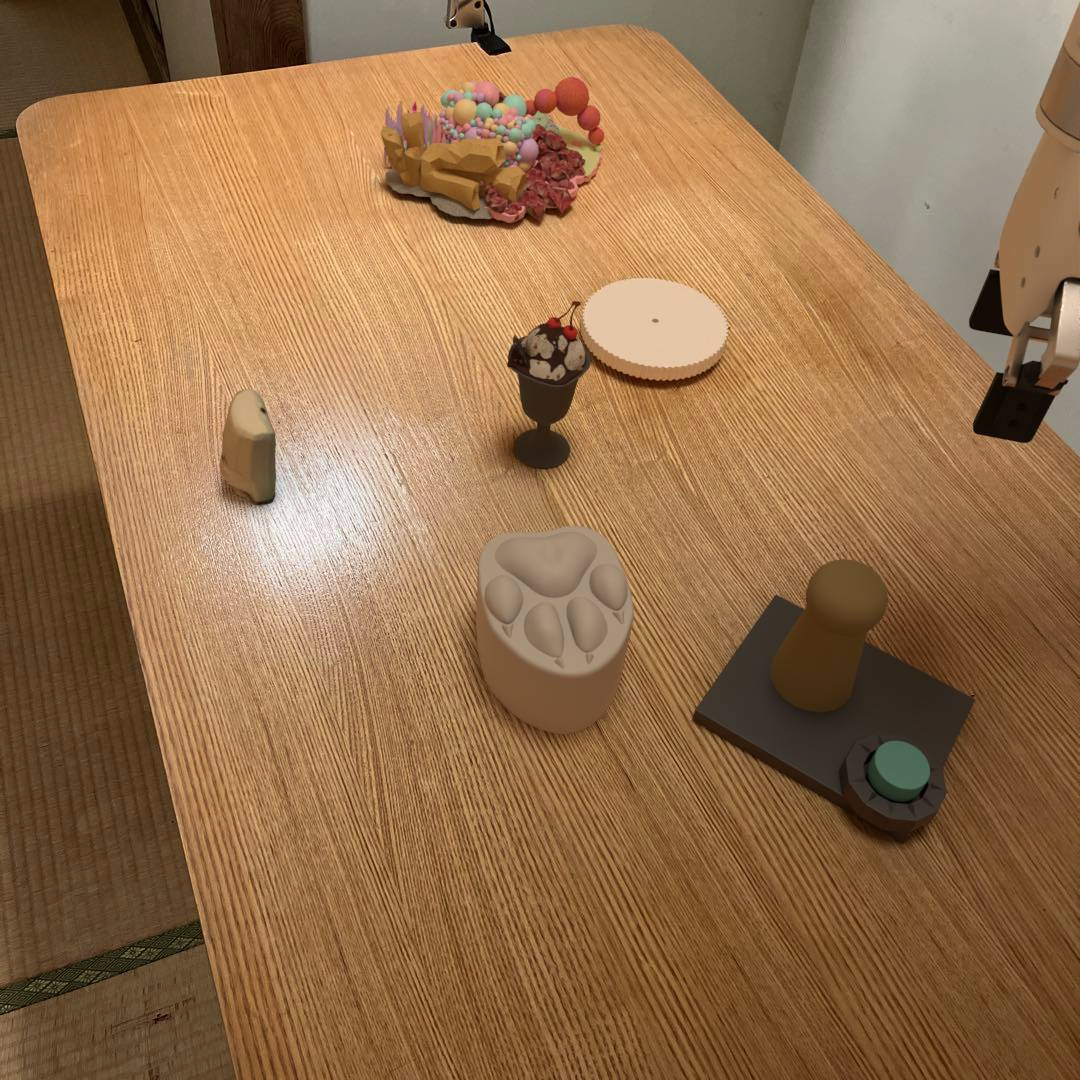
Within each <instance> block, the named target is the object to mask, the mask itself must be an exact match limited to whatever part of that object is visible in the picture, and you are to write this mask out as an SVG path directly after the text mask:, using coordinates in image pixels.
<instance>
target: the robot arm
mask: <svg viewBox="0 0 1080 1080" xmlns="http://www.w3.org/2000/svg"><path fill="white" fill-rule="evenodd" d="M1035 118H1036V121H1037V123H1038V124H1039V126H1040V128H1042V129H1043V130H1044V131H1043V133H1042V135H1041V137H1040V140H1039V141H1038V143H1037V145H1036V148H1035V149H1034V152H1033V154H1032V156H1031V159H1030V161H1029V163H1028V165H1027V167H1026V170H1025V172H1024V174H1023V176H1022V178H1021V180H1020V184H1019V186H1018V187H1017V190H1016V193H1015V195H1014V196H1013V197H1014V198H1013V199H1012V202H1011V205H1010V208H1009V210H1008V212H1007V215H1006V219H1005V221H1004V223H1003V227H1002V231H1001V234H1000V238H999V244H998V250H997V252H996V255H995V258H994V265H993V267H994V268H995V269H994V268H993V269H992V268H990V269H989V271H988V273H987V276H986V278H985V280H984V283H983V285H982V288H981V290H980V292H979V295H978V297H977V298H976V299H977V300H976V301H975V305H974V306H973V308H972V311H971V313H970V316H969V319H968V326H969V327H968V328H970V329H971V330H974V331H977V332H984V333H989V334H993V335H1000V336H1006V337H1012V340H1011V343H1010V346H1009V351H1008V355H1007V358H1006V362H1005V367H1004V370H1003V372H999V371H996V373H995V375H994V377H993V378H992V381H991V383H990V385H989V388H988V389H987V392H986V394H985V396H984V398H983V400H982V402H981V403H980V407H979V409H978V411H977V413H976V415H975V417H974V419H973V420H972V421H973V422H972V432H973V433H974V434H976V435H979V436H982V437H983V436H984V437H989V438H994V439H999V440H1004V441H1010V442H1015V443H1019V444H1028V443H1030V442H1031V441H1033V439H1034V437H1035V435H1036V434H1037V432H1038V430H1039V428H1040V427H1041V424H1042V423H1043V421H1044V419H1045V417H1046V415H1047V413H1048V411H1049V409H1050V407H1051V405H1052V404H1053V402H1054V400H1055V398H1056V397H1058V396H1059V395H1060V393H1061V392H1062V389H1063V388H1064V386H1067V384H1068V383H1069V379H1068V378H1069V377H1070V376H1072V375H1073V373H1074V372H1075V371H1077V369H1078V367H1079V365H1080V1H1079V2H1078V5H1077V7H1076V9H1075V12H1074V15H1073V17H1072V19H1071V22H1070V25H1069V27H1068V29H1067V32H1066V34H1065V36H1064V39H1063V42H1062V44H1061V47H1060V49H1059V51H1058V54H1057V56H1056V59H1055V62H1054V64H1053V66H1052V69H1051V71H1050V74H1049V75H1048V78H1047V81H1046V83H1045V86H1044V89H1043V91H1042V93H1041V96H1040V98H1039V100H1038V103H1037V105H1036V108H1035ZM998 269H999V270H998ZM1039 317H1042V318H1047V319H1050V325H1049V328H1045V327H1040V326H1033V325H1031V324H1032V323H1033V322H1034V321H1036V319H1038V318H1039ZM1029 341H1034V342H1039V343H1044V344H1047V345H1046V347H1045V350H1044V352H1043V354H1042V355H1040V356H1041V357H1040V361H1039V360H1030V361H1027V362H1024V360H1025V357H1026V352H1027V348H1028V345H1029Z"/></svg>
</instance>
